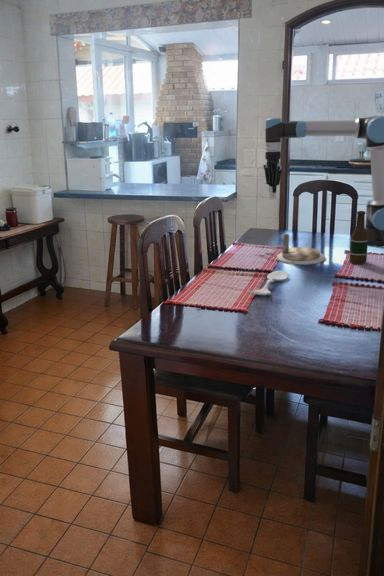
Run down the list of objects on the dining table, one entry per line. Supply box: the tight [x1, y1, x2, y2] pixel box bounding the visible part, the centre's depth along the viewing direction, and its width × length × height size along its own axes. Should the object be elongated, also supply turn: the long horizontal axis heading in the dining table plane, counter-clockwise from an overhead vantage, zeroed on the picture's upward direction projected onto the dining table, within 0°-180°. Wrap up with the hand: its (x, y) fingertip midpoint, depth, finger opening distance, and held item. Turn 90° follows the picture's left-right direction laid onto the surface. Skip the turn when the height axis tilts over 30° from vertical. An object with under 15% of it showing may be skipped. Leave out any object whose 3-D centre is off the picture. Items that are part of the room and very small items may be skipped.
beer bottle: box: [349, 210, 369, 265], centre depth 237 cm, size 8×8×24 cm
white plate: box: [276, 252, 326, 266], centre depth 251 cm, size 23×23×1 cm
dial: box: [281, 233, 321, 261], centre depth 249 cm, size 18×18×11 cm
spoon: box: [247, 270, 290, 296], centre depth 212 cm, size 9×32×4 cm, turn 155°
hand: (272, 198), depth 261 cm, fingers closed
